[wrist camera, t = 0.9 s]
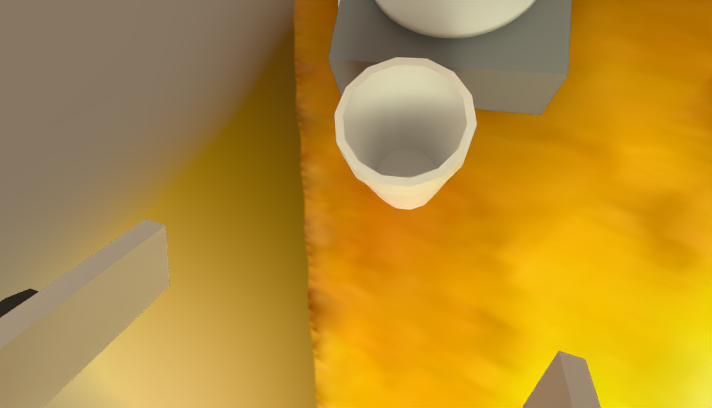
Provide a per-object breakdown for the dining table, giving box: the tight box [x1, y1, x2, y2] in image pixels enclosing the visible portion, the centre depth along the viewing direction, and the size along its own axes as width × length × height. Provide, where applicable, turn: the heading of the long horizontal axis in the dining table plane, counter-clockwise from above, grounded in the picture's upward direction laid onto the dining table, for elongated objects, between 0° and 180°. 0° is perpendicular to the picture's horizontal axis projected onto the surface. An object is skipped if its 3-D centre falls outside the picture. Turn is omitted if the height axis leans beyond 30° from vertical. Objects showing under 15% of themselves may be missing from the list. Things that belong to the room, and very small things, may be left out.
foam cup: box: [335, 57, 477, 210], centre depth 33 cm, size 10×9×13 cm
